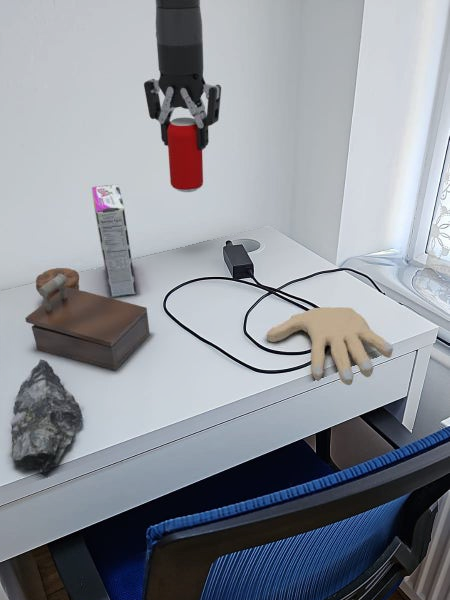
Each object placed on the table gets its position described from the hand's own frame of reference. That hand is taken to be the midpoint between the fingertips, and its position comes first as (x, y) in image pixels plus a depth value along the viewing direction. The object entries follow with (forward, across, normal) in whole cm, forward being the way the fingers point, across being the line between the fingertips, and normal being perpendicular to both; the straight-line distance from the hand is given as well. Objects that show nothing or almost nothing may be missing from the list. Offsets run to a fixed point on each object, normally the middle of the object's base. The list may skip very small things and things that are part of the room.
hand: (185, 146), depth 105 cm
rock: (+24, -7, +54) cm, 59 cm away
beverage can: (+8, 0, 0) cm, 8 cm away
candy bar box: (+21, +6, +17) cm, 28 cm away
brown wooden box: (+21, 0, +35) cm, 41 cm away
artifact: (+21, +12, +27) cm, 36 cm away
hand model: (+20, -32, +13) cm, 40 cm away
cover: (+16, 0, +35) cm, 39 cm away
